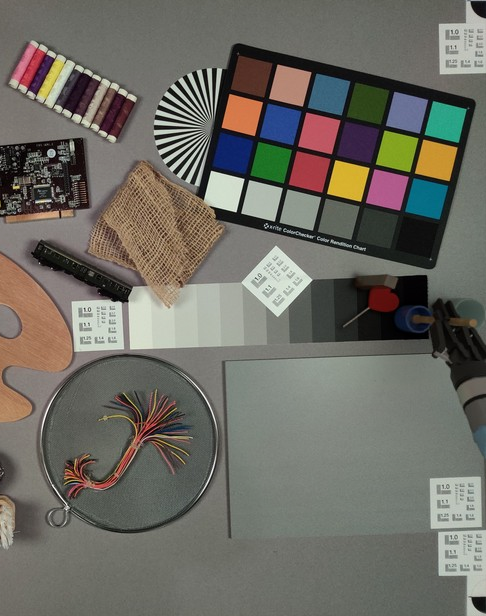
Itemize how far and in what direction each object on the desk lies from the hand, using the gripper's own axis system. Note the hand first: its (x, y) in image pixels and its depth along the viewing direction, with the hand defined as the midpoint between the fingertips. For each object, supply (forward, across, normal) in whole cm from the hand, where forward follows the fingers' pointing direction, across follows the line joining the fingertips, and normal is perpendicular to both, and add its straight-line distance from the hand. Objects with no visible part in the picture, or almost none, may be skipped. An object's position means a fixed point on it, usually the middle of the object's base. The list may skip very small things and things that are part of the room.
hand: (441, 303), depth 132 cm
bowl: (+6, 0, -11) cm, 13 cm away
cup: (+8, +8, -9) cm, 15 cm away
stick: (+3, 0, -9) cm, 9 cm away
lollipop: (+6, -10, -11) cm, 16 cm away
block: (+10, -13, -7) cm, 18 cm away
